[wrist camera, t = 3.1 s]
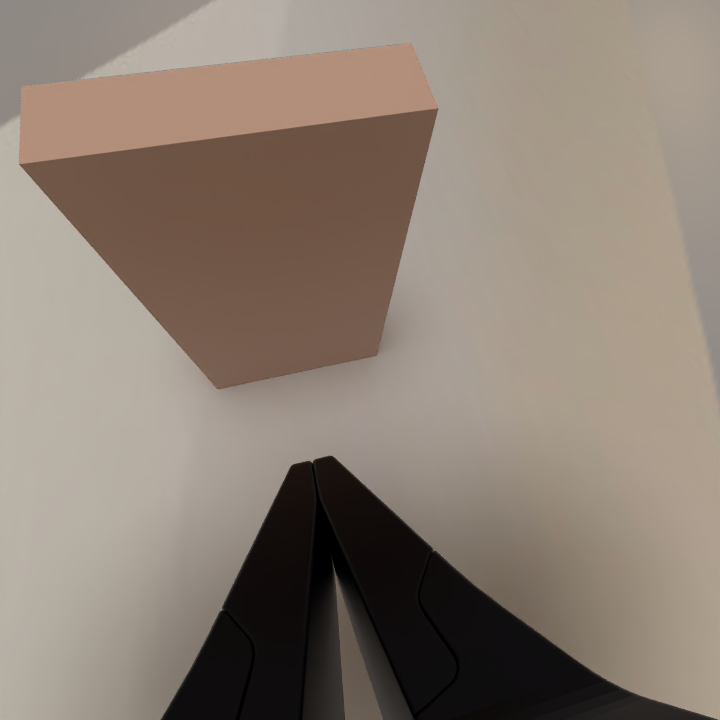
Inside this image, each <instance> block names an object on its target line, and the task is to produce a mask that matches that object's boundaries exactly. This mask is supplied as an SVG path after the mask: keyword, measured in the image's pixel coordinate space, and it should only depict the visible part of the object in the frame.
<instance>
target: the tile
mask: <svg viewBox="0 0 720 720" xmlns="http://www.w3.org/2000/svg"><path fill="white" fill-rule="evenodd" d="M21 90H22V91H21V121H20V153H19V165H20V166H21V167H22V168H23V169H24V170H25V171H26V173H27V174H28V175H29V176H30V177H31V178H32V179H33V181H34V182H35V183H36V184H37V185H38V186H39V187H40V188H41V190H42V191H43V192H44V193H45V194H46V195H47V196H48V198H49V199H50V200H51V201H52V202H53V203H54V204H55V205H56V207H57V208H58V209H59V210H60V211H61V212H62V213H63V214H64V216H65V217H66V218H67V219H68V220H69V221H70V222H71V224H72V225H73V226H74V227H75V228H76V229H77V230H78V231H79V233H80V234H81V235H82V236H83V237H84V238H85V239H86V241H87V242H88V243H89V244H90V245H91V246H92V247H93V248H94V250H95V251H96V252H97V253H98V254H99V255H100V256H101V258H102V259H103V260H104V261H105V262H106V263H107V264H108V265H109V267H110V268H111V269H112V270H113V271H114V272H115V273H116V275H117V276H118V277H119V278H120V279H121V280H122V281H123V282H124V284H125V285H126V286H127V287H128V288H129V289H130V290H131V292H132V293H133V294H134V295H135V296H136V297H137V298H138V299H139V301H140V302H141V303H142V304H143V305H144V306H145V307H146V309H147V310H148V311H149V312H150V313H151V314H152V315H153V316H154V318H155V319H156V320H157V321H158V322H159V323H160V324H161V326H162V327H163V328H164V329H165V330H166V331H167V332H168V333H169V335H170V336H171V337H172V338H173V339H174V340H175V341H176V343H177V344H178V345H179V346H180V347H181V348H182V349H183V350H184V352H185V353H186V354H187V355H188V356H189V357H190V358H191V360H192V361H193V362H194V363H195V364H196V365H197V366H198V367H199V369H200V370H201V371H202V372H203V373H204V374H205V375H206V377H207V378H208V379H209V380H210V381H211V382H212V383H213V384H214V386H215V387H216V388H217V389H220V388H225V387H230V386H234V385H239V384H244V383H248V382H253V381H258V380H263V379H267V378H272V377H277V376H282V375H286V374H291V373H296V372H300V371H305V370H310V369H315V368H319V367H324V366H329V365H334V364H338V363H343V362H348V361H352V360H357V359H362V358H367V357H371V356H376V355H377V351H378V347H379V343H380V339H381V335H382V331H383V327H384V323H385V319H386V315H387V311H388V307H389V303H390V299H391V295H392V291H393V287H394V283H395V279H396V275H397V271H398V267H399V263H400V259H401V255H402V251H403V247H404V243H405V239H406V235H407V231H408V227H409V223H410V219H411V215H412V211H413V207H414V203H415V199H416V195H417V191H418V187H419V183H420V179H421V175H422V171H423V167H424V163H425V160H426V156H427V152H428V148H429V144H430V140H431V136H432V132H433V128H434V124H435V120H436V116H437V112H438V106H437V104H436V101H435V99H434V97H433V94H432V92H431V89H430V87H429V85H428V82H427V80H426V77H425V75H424V73H423V70H422V68H421V65H420V63H419V61H418V58H417V56H416V53H415V51H414V49H413V46H412V44H411V43H408V44H399V45H398V44H397V45H388V46H379V47H370V48H361V49H352V50H343V51H334V52H325V53H316V54H307V55H298V56H289V57H280V58H271V59H262V60H253V61H244V62H235V63H226V64H217V65H208V66H199V67H190V68H181V69H172V70H163V71H154V72H145V73H136V74H127V75H118V76H109V77H100V78H91V79H82V80H73V81H64V82H55V83H46V84H39V85H30V86H22V89H21Z"/></svg>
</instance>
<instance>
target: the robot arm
mask: <svg viewBox="0 0 720 720" xmlns="http://www.w3.org/2000/svg"><path fill="white" fill-rule="evenodd" d="M331 555H332V556H331ZM332 560H333V561H332ZM333 564H334V567H333ZM334 569H335V573H336V576H337V580H338V583H339V586H340V589H341V592H342V595H343V598H344V601H345V605H346V608H347V611H348V614H349V617H350V620H351V623H352V626H353V629H354V632H355V635H356V638H357V641H358V644H359V647H360V650H361V653H362V656H363V659H364V662H365V665H366V668H367V671H368V674H369V677H370V680H371V683H372V686H373V690H374V693H375V696H376V699H377V702H378V705H379V708H380V711H381V714H382V717H383V720H718V719H714V718H711V717H708V716H704V715H701V714H698V713H694V712H691V711H688V710H685V709H681V708H678V707H675V706H671V705H668V704H665V703H661V702H658V701H655V700H652V699H648V698H645V697H642V696H640V695H637V694H635V693H632V692H630V691H628V690H625V689H623V688H621V687H619V686H617V685H615V684H613V683H611V682H609V681H607V680H606V679H604V678H602V677H601V676H599V675H597V674H596V673H594V672H592V671H591V670H590V669H588V668H587V667H585V666H584V665H582V664H581V663H579V662H578V661H577V660H575V659H574V658H573V657H571V656H570V655H568V654H567V653H566V652H564V651H563V650H562V649H560V648H559V647H557V646H556V645H555V644H553V643H552V642H550V641H549V640H548V639H546V638H545V637H544V636H542V635H541V634H539V633H538V632H537V631H535V630H534V629H533V628H531V627H530V626H528V625H527V624H526V623H524V622H523V621H522V620H520V619H519V618H517V617H516V616H515V615H513V614H512V613H511V612H509V611H508V610H506V609H505V608H504V607H502V606H501V605H500V604H498V603H497V602H496V601H494V600H493V599H492V598H491V597H489V596H488V595H487V594H485V593H484V592H483V591H481V590H480V589H479V588H477V587H476V586H475V585H474V584H472V583H471V582H470V581H469V580H468V579H467V578H465V577H464V576H463V575H462V574H461V573H460V572H459V571H457V570H456V569H455V568H454V567H453V566H452V565H450V564H449V563H448V562H447V561H446V560H445V559H444V558H443V557H442V556H441V555H440V554H439V553H438V552H436V551H433V548H432V547H431V546H430V545H429V544H428V543H426V542H425V541H424V540H423V539H422V538H421V537H420V536H419V535H418V534H417V533H416V532H415V531H414V530H412V529H411V528H410V527H409V526H408V525H407V524H406V523H405V522H404V521H403V520H402V519H401V518H399V517H398V516H397V515H396V514H395V513H394V512H393V511H392V510H391V509H390V508H389V507H388V506H386V505H385V504H384V503H383V502H382V501H381V500H380V499H379V498H378V497H377V496H376V495H375V494H373V493H372V492H371V491H370V490H369V489H368V488H367V487H366V486H365V485H364V484H363V483H362V482H360V481H359V480H358V479H357V478H356V477H355V476H354V475H353V474H352V473H351V472H350V471H349V470H348V469H346V468H345V467H344V466H343V465H342V464H341V463H340V462H339V461H338V460H337V459H336V458H334V457H333V456H326V457H322V458H318V459H315V460H314V461H313V464H312V462H311V461H306V462H302V463H297V464H294V465H292V466H291V467H290V469H289V471H288V473H287V475H286V477H285V479H284V481H283V483H282V485H281V487H280V489H279V491H278V493H277V495H276V498H275V500H274V502H273V504H272V506H271V508H270V510H269V512H268V514H267V516H266V518H265V520H264V522H263V524H262V526H261V528H260V530H259V532H258V534H257V537H256V539H255V541H254V543H253V545H252V547H251V549H250V551H249V553H248V555H247V557H246V559H245V561H244V563H243V565H242V567H241V569H240V571H239V573H238V575H237V578H236V580H235V582H234V584H233V586H232V588H231V590H230V592H229V594H228V596H227V598H226V600H225V602H224V604H223V606H222V611H220V612H219V614H218V616H217V618H216V620H215V622H214V624H213V626H212V628H211V631H210V633H209V635H208V636H207V638H206V640H205V642H204V644H203V646H202V648H201V650H200V652H199V654H198V656H197V658H196V660H195V661H194V663H193V665H192V667H191V669H190V671H189V672H188V674H187V676H186V678H185V679H184V681H183V683H182V684H181V686H180V688H179V689H178V691H177V693H176V695H175V696H174V698H173V700H172V701H171V703H170V705H169V707H168V708H167V710H166V712H165V713H164V715H163V717H162V718H161V720H345V713H344V699H343V684H342V670H341V656H340V641H339V627H338V612H337V598H336V584H335V574H334Z"/></svg>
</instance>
